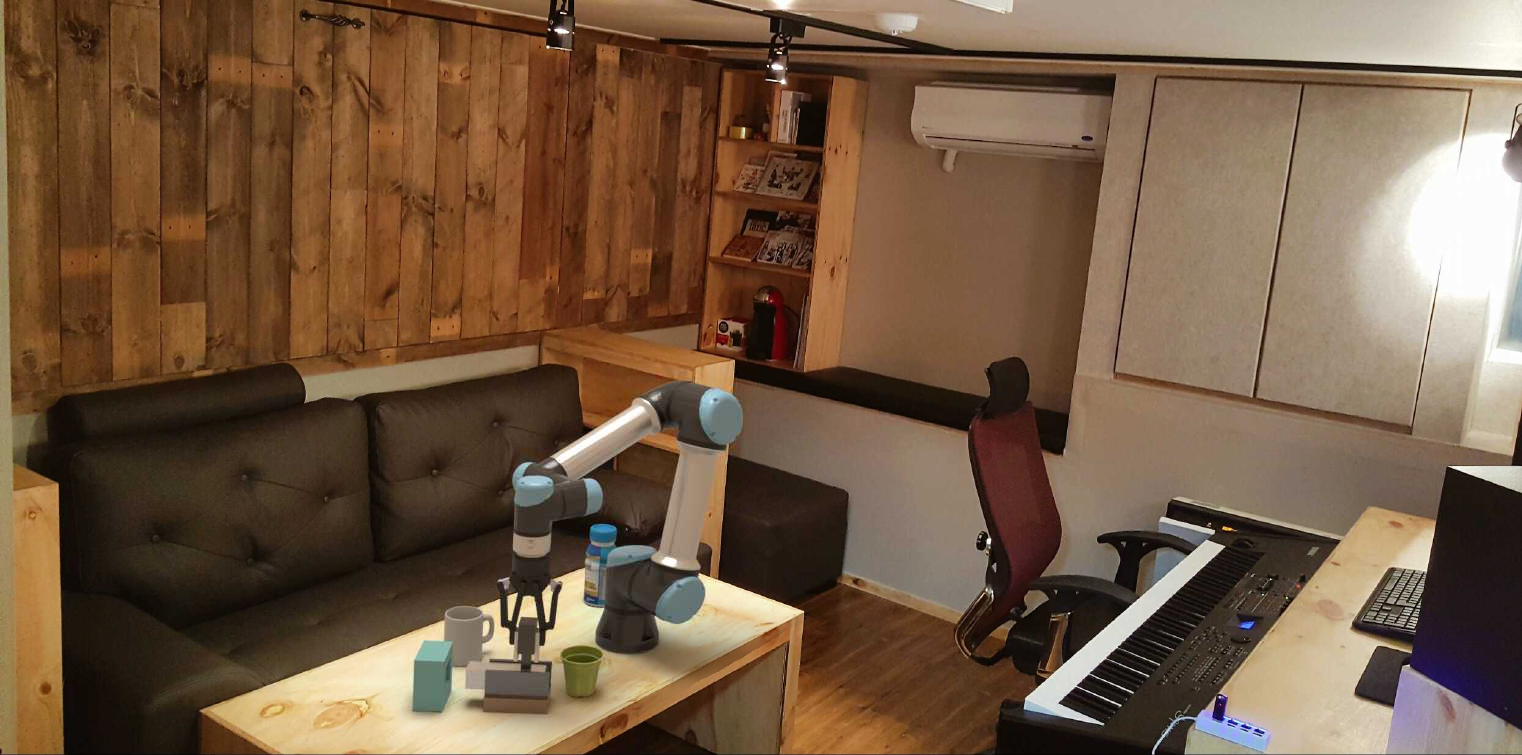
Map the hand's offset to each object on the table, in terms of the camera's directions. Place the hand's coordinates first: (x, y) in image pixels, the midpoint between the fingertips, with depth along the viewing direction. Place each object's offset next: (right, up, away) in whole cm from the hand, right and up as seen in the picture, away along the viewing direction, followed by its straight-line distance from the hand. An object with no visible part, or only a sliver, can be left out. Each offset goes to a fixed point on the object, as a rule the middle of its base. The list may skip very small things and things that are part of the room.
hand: (526, 659), depth 250 cm
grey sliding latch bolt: (-5, -6, +1) cm, 7 cm away
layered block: (-2, -10, +2) cm, 10 cm away
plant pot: (+10, -10, +10) cm, 17 cm away
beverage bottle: (+7, 0, +61) cm, 61 cm away
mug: (-17, -5, +22) cm, 28 cm away
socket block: (-20, -9, 0) cm, 21 cm away
